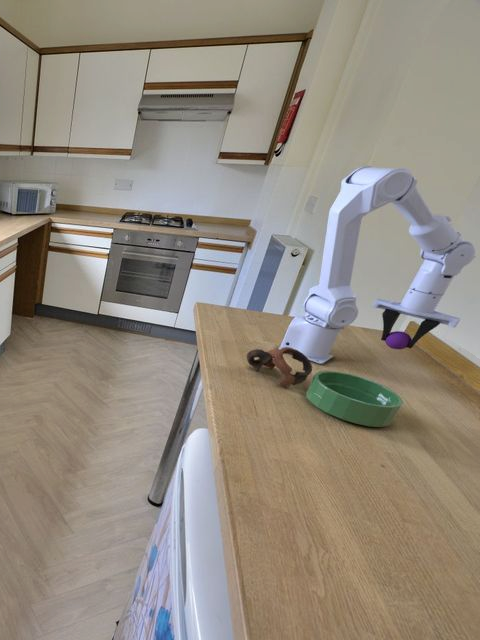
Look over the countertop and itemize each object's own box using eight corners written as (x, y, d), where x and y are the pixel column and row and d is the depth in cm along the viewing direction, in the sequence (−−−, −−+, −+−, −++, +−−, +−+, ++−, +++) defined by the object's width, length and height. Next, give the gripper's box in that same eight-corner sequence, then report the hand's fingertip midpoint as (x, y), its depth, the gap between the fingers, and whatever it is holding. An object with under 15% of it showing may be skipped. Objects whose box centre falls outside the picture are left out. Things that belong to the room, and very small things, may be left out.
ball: (379, 346, 102) (388, 330, 100) (384, 343, 105) (393, 327, 103) (403, 354, 99) (412, 337, 97) (408, 350, 101) (417, 333, 99)
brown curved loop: (282, 369, 97) (312, 351, 90) (288, 402, 92) (320, 385, 85) (234, 351, 98) (260, 331, 91) (236, 383, 92) (264, 365, 85)
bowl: (294, 402, 83) (304, 381, 81) (318, 385, 90) (328, 365, 88) (378, 438, 74) (392, 415, 71) (398, 415, 80) (411, 394, 78)
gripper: (474, 297, 92) (441, 351, 98) (390, 280, 103) (364, 329, 108) (469, 302, 88) (434, 358, 94) (381, 284, 99) (355, 334, 105)
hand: (396, 343), depth 101 cm, fingers closed on ball, 4 cm apart
